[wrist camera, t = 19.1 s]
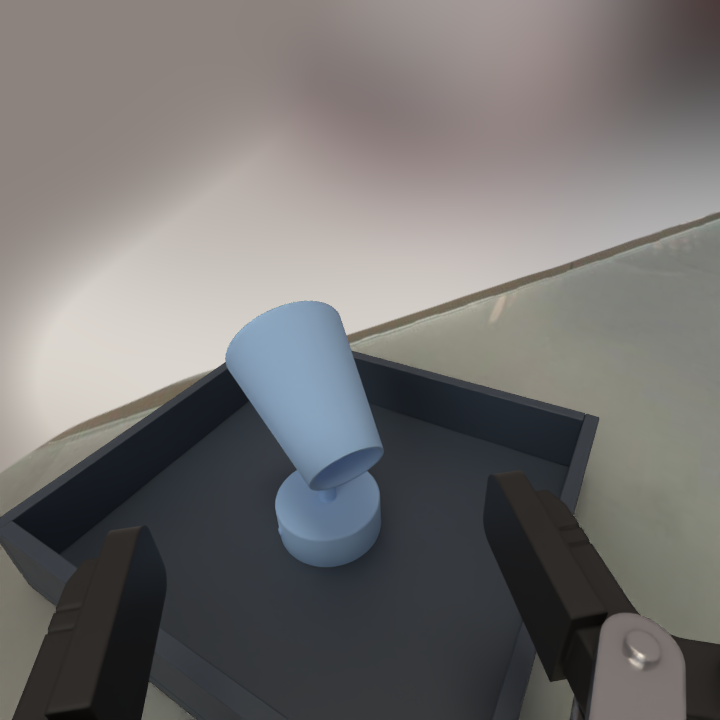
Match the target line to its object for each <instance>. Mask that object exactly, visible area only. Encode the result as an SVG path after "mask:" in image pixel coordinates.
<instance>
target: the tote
mask: <svg viewBox="0 0 720 720" xmlns="http://www.w3.org/2000/svg"><path fill="white" fill-rule="evenodd" d="M352 355H353V358H354V361H355V364H356V367H357V370H358V373H359V376H360V379H361V382H362V385H363V388H364V391H365V394H366V397H367V400H368V403H369V406H370V409H371V412H372V416H373V419H374V422H375V425H376V428H377V431H378V434H379V437H380V440H381V443H382V446H383V449H384V453H383V456H382V457H381V459H380V460H379V461H378V462H377V463H376V464H375V465H374V466H373V467H371V468H370V469H369V470H367V471H368V472H369V473H370V474H371V475H372V477H373V478H374V479H375V481H376V483H377V485H378V487H379V491H380V507H381V528H380V532H379V535H378V537H377V540H376V541H375V543H374V544H373V546H372V547H371V548H370V549H369V550H368V551H367V552H366V553H365V554H364V555H362V556H361V557H359V558H358V559H356V560H354V561H352V562H350V563H347V564H344V565H340V566H335V567H317V566H312V565H309V564H306V563H303V562H301V561H299V560H298V559H296V558H295V557H294V556H292V555H291V554H290V553H289V552H288V550H287V549H286V548H285V546H284V544H283V542H282V539H281V536H280V534H279V532H278V528H279V525H278V520H277V515H276V510H275V500H276V496H277V493H278V490H279V488H280V487H281V485H282V484H283V482H284V481H285V480H286V479H287V478H288V477H289V476H290V475H291V474H292V473H293V472H295V471H296V470H297V469H296V467H295V466H294V465H293V463H292V462H291V460H290V459H289V457H288V456H287V454H286V453H285V451H284V450H283V449H282V447H281V446H280V444H279V443H278V441H277V440H276V438H275V437H274V435H273V434H272V433H271V431H270V430H269V428H268V427H267V425H266V424H265V422H264V421H263V419H262V418H261V416H260V415H259V414H258V412H257V411H256V409H255V408H254V406H253V405H252V403H251V402H250V400H249V399H248V398H247V396H246V395H245V393H244V392H243V390H242V389H241V387H240V386H239V384H238V383H237V382H236V380H235V379H234V377H233V376H232V374H231V373H230V371H229V370H228V368H227V366H226V362H225V363H224V364H222V365H221V366H219V367H218V368H216V369H215V370H213V371H212V372H211V373H209V374H208V375H206V376H205V377H203V378H202V379H200V380H199V381H197V382H196V383H195V384H193V385H192V386H190V387H189V388H187V389H186V390H184V391H183V392H181V393H180V394H179V395H177V396H176V397H174V398H173V399H171V400H170V401H168V402H167V403H165V404H164V405H163V406H161V407H160V408H158V409H157V410H155V411H154V412H152V413H151V414H150V415H148V416H147V417H145V418H144V419H142V420H141V421H139V422H138V423H136V424H135V425H134V426H132V427H131V428H129V429H128V430H126V431H125V432H123V433H122V434H120V435H119V436H118V437H116V438H115V439H113V440H112V441H110V442H109V443H107V444H106V445H104V446H103V447H102V448H100V449H99V450H97V451H96V452H94V453H93V454H91V455H90V456H88V457H87V458H86V459H84V460H83V461H81V462H80V463H78V464H77V465H75V466H74V467H73V468H71V469H70V470H68V471H67V472H65V473H64V474H62V475H61V476H59V477H58V478H57V479H55V480H54V481H52V482H51V483H49V484H48V485H46V486H45V487H43V488H42V489H41V490H39V491H38V492H36V493H35V494H33V495H32V496H30V497H29V498H27V499H26V500H25V501H23V502H22V503H20V504H19V505H17V506H16V507H14V508H13V509H11V510H10V511H9V512H7V513H6V514H4V515H3V516H1V517H0V544H1V545H2V547H3V548H4V549H5V551H6V552H7V554H8V555H9V557H10V558H11V560H12V561H13V563H14V564H15V565H16V567H17V568H18V570H19V571H20V573H21V574H23V577H24V578H25V580H26V581H27V582H28V584H29V585H30V586H32V587H33V588H34V589H35V590H37V591H38V592H39V593H40V594H42V595H43V596H44V597H45V598H47V599H48V600H49V601H50V602H52V603H53V604H54V605H55V606H56V607H57V604H58V602H59V599H60V597H61V594H62V592H63V589H64V587H65V584H66V582H67V581H68V580H69V578H70V577H71V576H72V575H73V573H74V572H75V571H76V570H77V568H78V567H79V566H80V565H81V563H82V562H83V561H84V560H86V559H92V558H98V557H99V554H100V551H101V548H102V545H103V542H104V539H105V537H106V535H107V534H108V532H109V531H111V530H117V529H124V528H130V527H137V526H144V525H145V526H147V527H148V528H149V530H150V532H151V534H152V537H153V539H154V541H155V544H156V546H157V548H158V551H159V553H160V556H161V558H162V560H163V563H164V565H165V569H166V575H167V590H166V597H165V602H164V607H163V612H162V617H161V622H160V627H159V632H158V637H157V642H156V647H155V652H154V657H153V662H152V667H151V672H150V677H149V681H150V682H151V683H152V684H154V685H155V686H156V687H157V688H159V689H160V690H161V691H162V692H164V693H165V694H166V695H167V696H169V697H170V698H171V699H172V700H174V701H175V702H176V703H177V704H179V705H180V706H181V707H182V708H184V709H185V710H186V711H187V712H189V713H190V714H191V715H192V716H194V717H195V718H196V719H197V720H518V718H519V714H520V711H521V707H522V703H523V700H524V696H525V692H526V688H527V685H528V681H529V677H530V674H531V670H532V666H533V662H534V659H535V655H536V649H535V647H534V644H533V642H532V640H531V638H530V635H529V633H528V631H527V629H526V626H525V624H524V622H523V620H522V617H521V615H520V613H519V611H518V608H517V606H516V604H515V602H514V599H513V597H512V595H511V593H510V590H509V588H508V586H507V584H506V581H505V579H504V577H503V575H502V572H501V570H500V568H499V566H498V563H497V561H496V559H495V557H494V554H493V552H492V550H491V548H490V545H489V543H488V541H487V538H486V534H485V530H484V525H483V512H484V505H485V497H486V490H487V482H488V477H489V476H490V475H491V474H498V473H505V472H511V471H518V470H520V471H522V472H523V473H524V474H525V475H526V476H527V478H528V480H529V481H530V483H531V485H532V486H533V488H534V490H535V491H538V490H545V489H547V490H549V491H550V492H551V493H552V494H554V495H555V496H556V497H557V498H558V499H560V500H561V501H562V502H563V503H565V504H566V505H567V507H568V508H569V510H570V511H571V513H572V514H574V511H575V507H576V503H577V500H578V496H579V492H580V488H581V485H582V481H583V477H584V474H585V470H586V466H587V463H588V459H589V455H590V451H591V448H592V444H593V440H594V437H595V433H596V429H597V425H598V422H599V417H596V416H593V415H589V414H586V415H585V413H582V412H578V411H574V410H571V409H567V408H563V407H560V406H556V405H552V404H548V403H545V402H541V401H537V400H533V399H530V398H526V397H522V396H519V395H515V394H511V393H507V392H504V391H500V390H496V389H492V388H489V387H485V386H481V385H477V384H474V383H470V382H466V381H463V380H459V379H455V378H451V377H448V376H444V375H440V374H436V373H433V372H429V371H425V370H422V369H418V368H414V367H410V366H407V365H403V364H399V363H395V362H392V361H388V360H384V359H381V358H377V357H373V356H369V355H366V354H362V353H358V352H354V351H352Z"/></svg>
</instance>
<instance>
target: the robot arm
mask: <svg viewBox="0 0 720 720" xmlns="http://www.w3.org/2000/svg"><path fill="white" fill-rule="evenodd" d="M483 525H484V530H485V534H486V538H487V541H488V543H489V545H490V548H491V550H492V552H493V554H494V557H495V559H496V561H497V563H498V566H499V568H500V570H501V572H502V575H503V577H504V579H505V581H506V584H507V586H508V588H509V590H510V593H511V595H512V597H513V599H514V602H515V604H516V606H517V608H518V611H519V613H520V615H521V617H522V620H523V622H524V624H525V626H526V629H527V631H528V633H529V635H530V638H531V640H532V642H533V644H534V647H535V649H536V651H537V653H538V656H539V658H540V660H541V662H542V665H543V667H544V669H545V671H546V674H547V676H548V678H549V680H550V682H553V681H558V680H563V679H567V680H568V682H569V684H570V687H571V689H572V691H573V693H574V699H573V704H572V710H571V716H570V720H720V644H714V643H708V642H701V641H695V640H689V639H684V638H679V637H676V636H673V635H670V634H669V633H668V632H667V631H666V630H665V629H663V628H662V627H661V626H660V625H658V624H657V623H655V622H654V621H652V620H650V619H648V618H646V617H644V616H641V615H640V614H639V613H638V612H637V611H636V609H635V608H634V607H633V605H632V604H631V603H630V601H629V600H628V598H627V597H626V595H625V594H624V592H623V591H622V589H621V588H620V586H619V584H618V583H617V581H616V580H615V578H614V577H613V575H612V574H611V572H610V571H609V569H608V568H607V566H606V565H605V563H604V562H603V560H602V559H601V557H600V556H599V554H598V552H597V551H596V549H595V548H594V546H593V545H592V544H590V542H589V539H588V537H587V536H586V534H585V533H584V531H583V530H582V528H580V527H579V524H578V522H577V521H576V519H575V517H574V516H573V514H572V513H571V511H570V510H569V508H568V507H567V505H566V504H565V503H563V502H562V501H561V500H560V499H558V498H557V497H556V496H555V495H554V494H552V493H551V492H550V491H549V490H547V489H545V490H538V491H535V490H534V488H533V486H532V485H531V483H530V481H529V480H528V478H527V476H526V475H525V474H524V473H523V472H522V471H520V470H518V471H511V472H505V473H498V474H491V475H490V476H489V477H488V482H487V490H486V497H485V505H484V512H483ZM166 590H167V575H166V569H165V565H164V563H163V560H162V558H161V556H160V553H159V551H158V548H157V546H156V544H155V541H154V539H153V537H152V534H151V532H150V530H149V528H148V527H147V526H145V525H144V526H137V527H130V528H124V529H117V530H111V531H109V532H108V534H107V535H106V537H105V539H104V542H103V545H102V548H101V551H100V554H99V557H98V558H92V559H86V560H84V561H83V562H82V563H81V565H80V566H79V567H78V568H77V570H76V571H75V572H74V573H73V575H72V576H71V577H70V578H69V580H68V581H67V582H66V584H65V587H64V589H63V592H62V594H61V597H60V599H59V602H58V604H57V607H56V613H54V615H53V617H52V620H51V622H50V625H49V627H48V634H47V635H45V637H44V640H43V643H42V645H41V648H40V650H39V653H38V655H37V658H36V660H35V663H34V665H33V668H32V671H31V673H30V676H29V678H28V681H27V683H26V686H25V688H24V691H23V693H22V696H21V699H20V701H19V704H18V706H17V709H16V711H15V714H14V716H13V718H12V720H141V718H142V713H143V708H144V702H145V697H146V692H147V687H148V682H149V677H150V672H151V667H152V662H153V657H154V652H155V647H156V642H157V637H158V632H159V627H160V622H161V617H162V612H163V607H164V602H165V597H166Z"/></svg>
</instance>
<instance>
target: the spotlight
mask: <svg viewBox="0 0 720 720" xmlns="http://www.w3.org/2000/svg"><path fill="white" fill-rule="evenodd" d="M225 359H226V366H227V368H228V370H229V371H230V373H231V374H232V376H233V377H234V379H235V380H236V382H237V383H238V384H239V386H240V387H241V389H242V390H243V392H244V393H245V395H246V396H247V398H248V399H249V400H250V402H251V403H252V405H253V406H254V408H255V409H256V411H257V412H258V414H259V415H260V416H261V418H262V419H263V421H264V422H265V424H266V425H267V427H268V428H269V430H270V431H271V433H272V434H273V435H274V437H275V438H276V440H277V441H278V443H279V444H280V446H281V447H282V449H283V450H284V451H285V453H286V454H287V456H288V457H289V459H290V460H291V462H292V463H293V465H294V466H295V467H296V469H297V470H296V471H295V472H293V473H292V474H291V475H290V476H289V477H288V478H287V479H286V480H285V481H284V482H283V484H282V485H281V487H280V488H279V490H278V493H277V496H276V500H275V510H276V515H277V520H278V525H279V528H278V532H279V534H280V536H281V539H282V542H283V544H284V546H285V548H286V549H287V550H288V552H289V553H290V554H291V555H292V556H294V557H295V558H296V559H298V560H299V561H301V562H303V563H306V564H309V565H312V566H317V567H335V566H340V565H344V564H347V563H350V562H352V561H354V560H356V559H358V558H359V557H361V556H362V555H364V554H365V553H366V552H367V551H368V550H369V549H370V548H371V547H372V546H373V544H374V543H375V541H376V540H377V537H378V535H379V532H380V528H381V507H380V491H379V487H378V485H377V483H376V481H375V479H374V478H373V477H372V475H371V474H370V473H369V472H368V471H367V470H369V469H370V468H371V467H373V466H374V465H375V464H376V463H377V462H378V461H379V460H380V459H381V457H382V456H383V453H384V449H383V446H382V443H381V440H380V437H379V434H378V431H377V428H376V425H375V422H374V419H373V416H372V412H371V409H370V406H369V403H368V400H367V397H366V394H365V391H364V388H363V385H362V382H361V379H360V376H359V373H358V370H357V367H356V364H355V361H354V358H353V355H352V351H351V348H350V345H349V342H348V339H347V336H346V333H345V330H344V327H343V324H342V321H341V318H340V316H339V313H338V312H337V311H336V310H335V309H334V308H333V307H332V306H330V305H328V304H325V303H322V302H317V301H300V302H293V303H289V304H286V305H282V306H279V307H276V308H274V309H272V310H269V311H267V312H265V313H263V314H261V315H260V316H258V317H256V318H255V319H253V320H252V321H251V322H249V323H248V324H247V325H246V326H244V327H243V328H242V329H241V330H240V331H239V332H238V333H237V334H236V336H235V337H234V338H233V340H232V341H231V343H230V345H229V347H228V349H227V353H226V358H225Z"/></svg>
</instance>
